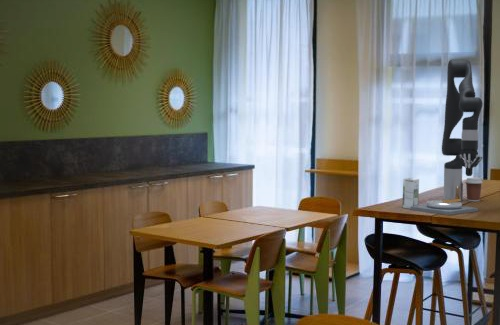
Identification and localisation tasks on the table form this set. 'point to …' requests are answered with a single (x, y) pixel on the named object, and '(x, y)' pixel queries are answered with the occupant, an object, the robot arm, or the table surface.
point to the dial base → (444, 210)
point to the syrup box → (410, 192)
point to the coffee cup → (473, 188)
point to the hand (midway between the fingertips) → (468, 175)
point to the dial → (447, 202)
